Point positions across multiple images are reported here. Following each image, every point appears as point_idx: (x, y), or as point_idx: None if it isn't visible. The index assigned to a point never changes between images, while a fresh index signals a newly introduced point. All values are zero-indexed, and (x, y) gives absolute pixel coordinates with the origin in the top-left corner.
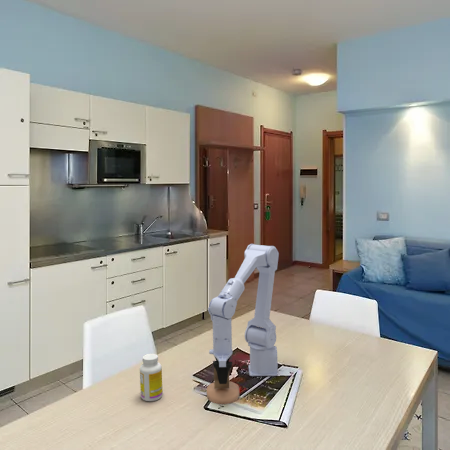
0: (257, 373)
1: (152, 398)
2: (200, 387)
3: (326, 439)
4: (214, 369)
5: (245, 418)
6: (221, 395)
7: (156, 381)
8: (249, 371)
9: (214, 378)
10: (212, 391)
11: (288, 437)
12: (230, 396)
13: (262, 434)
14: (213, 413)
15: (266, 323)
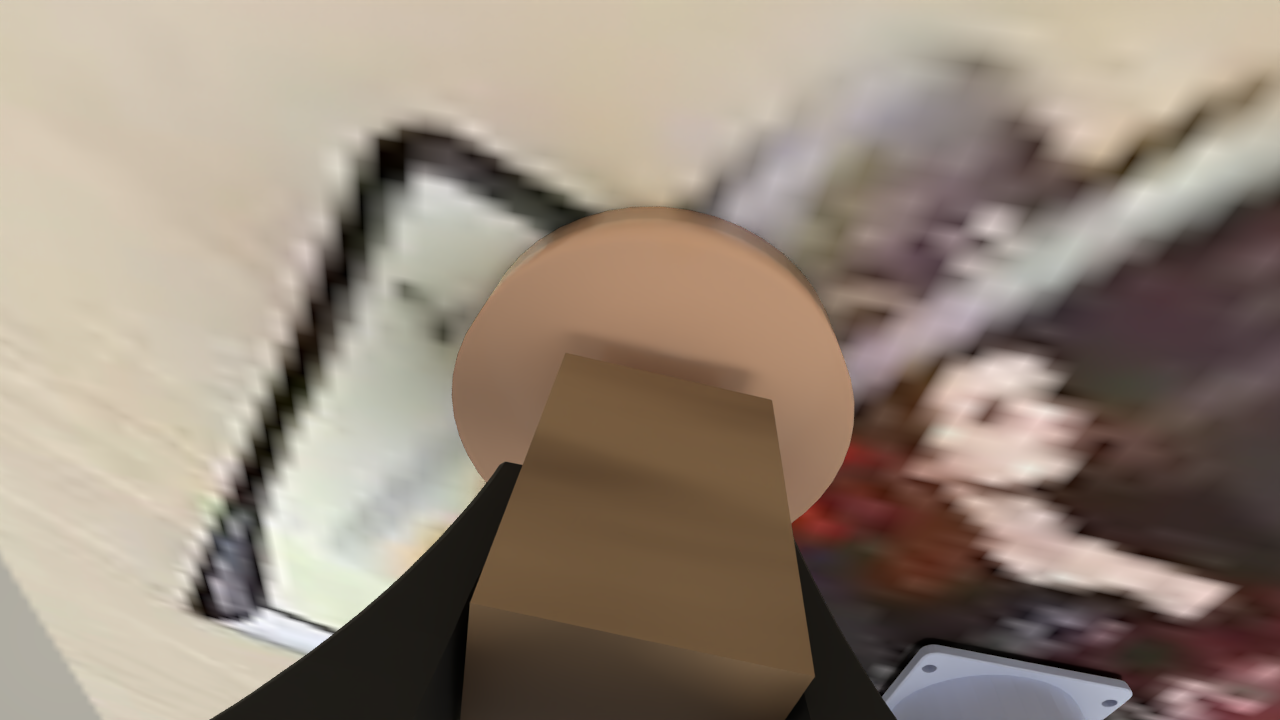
0: (915, 696)
1: None
2: (951, 161)
3: (129, 697)
4: (477, 614)
5: (250, 451)
6: (482, 383)
7: None
8: (995, 666)
9: (524, 460)
10: (599, 306)
11: (89, 590)
12: (473, 454)
13: (69, 492)
14: (293, 215)
15: None
